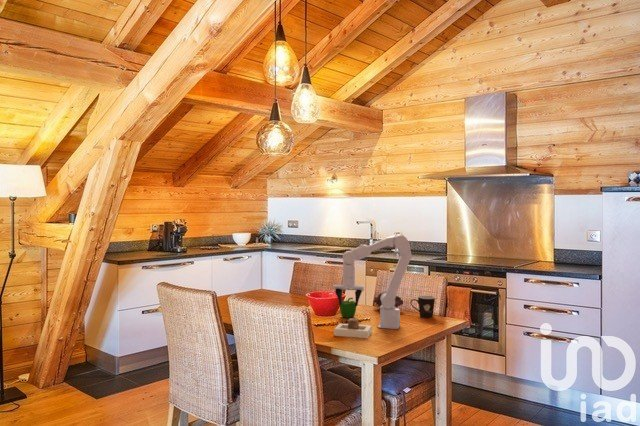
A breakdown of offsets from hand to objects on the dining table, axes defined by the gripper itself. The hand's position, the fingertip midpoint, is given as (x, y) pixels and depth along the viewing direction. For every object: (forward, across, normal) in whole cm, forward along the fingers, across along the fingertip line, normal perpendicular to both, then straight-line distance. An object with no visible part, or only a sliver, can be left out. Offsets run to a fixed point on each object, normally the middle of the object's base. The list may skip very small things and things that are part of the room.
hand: (348, 305), depth 249 cm
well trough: (+10, +5, -13) cm, 17 cm away
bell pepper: (+10, -4, +17) cm, 20 cm away
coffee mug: (+10, +33, +30) cm, 45 cm away
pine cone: (+10, +13, +39) cm, 42 cm away
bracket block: (+10, +5, -13) cm, 17 cm away
